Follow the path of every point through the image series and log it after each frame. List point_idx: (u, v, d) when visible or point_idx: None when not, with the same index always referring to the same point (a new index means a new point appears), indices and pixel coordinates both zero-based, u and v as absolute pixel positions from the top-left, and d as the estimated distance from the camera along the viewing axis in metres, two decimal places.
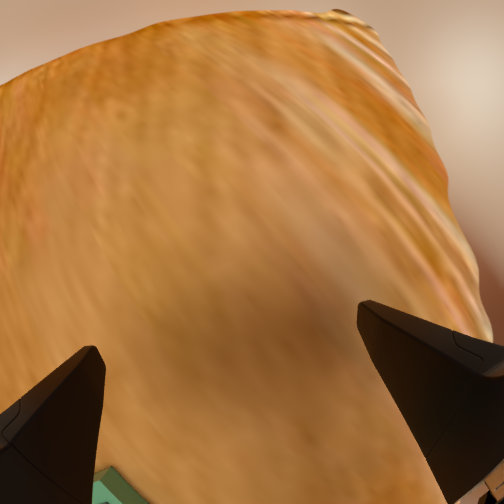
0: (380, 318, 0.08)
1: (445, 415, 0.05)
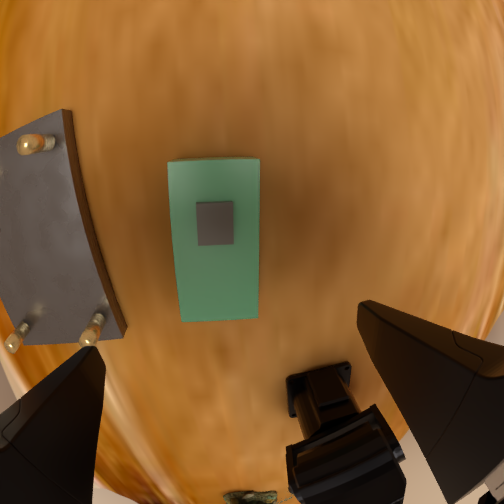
0: (380, 318, 0.08)
1: (445, 415, 0.05)
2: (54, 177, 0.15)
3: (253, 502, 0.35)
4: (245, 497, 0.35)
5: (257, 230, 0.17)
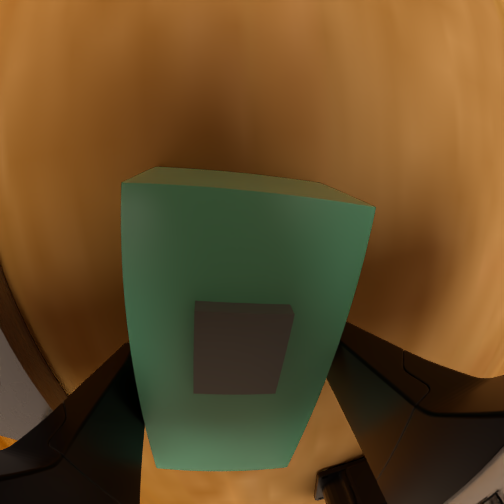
0: None
1: (390, 442, 0.05)
2: None
3: None
4: None
5: (328, 362, 0.07)
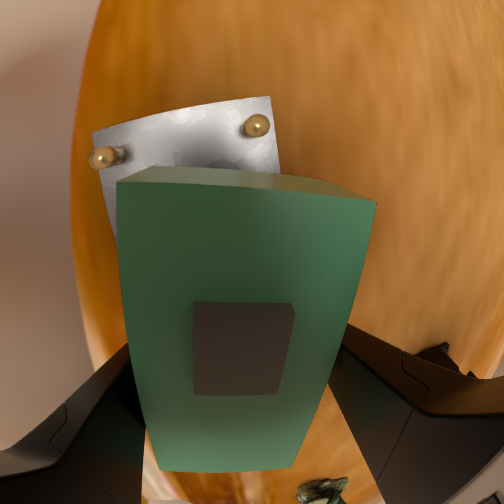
0: None
1: (388, 443, 0.05)
2: (257, 167, 0.17)
3: (328, 490, 0.35)
4: (321, 486, 0.35)
5: (331, 361, 0.07)
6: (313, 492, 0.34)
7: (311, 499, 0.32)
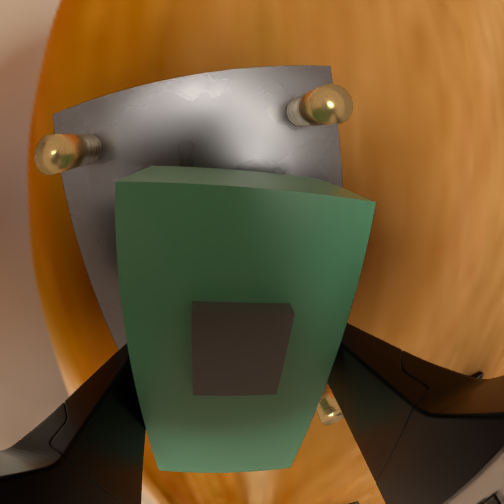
0: None
1: (388, 443, 0.05)
2: (310, 173, 0.11)
3: None
4: None
5: (330, 361, 0.07)
6: None
7: None
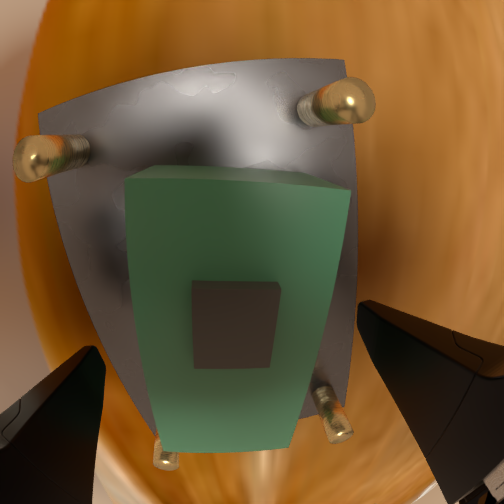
0: (380, 318, 0.08)
1: (445, 415, 0.05)
2: (322, 177, 0.10)
3: None
4: None
5: (318, 337, 0.08)
6: None
7: None
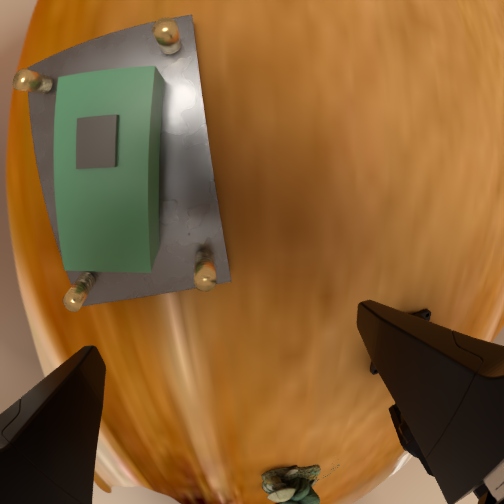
0: (380, 318, 0.08)
1: (445, 415, 0.05)
2: (175, 81, 0.14)
3: (296, 479, 0.33)
4: (288, 474, 0.33)
5: (146, 151, 0.12)
6: (278, 481, 0.31)
7: (275, 489, 0.30)
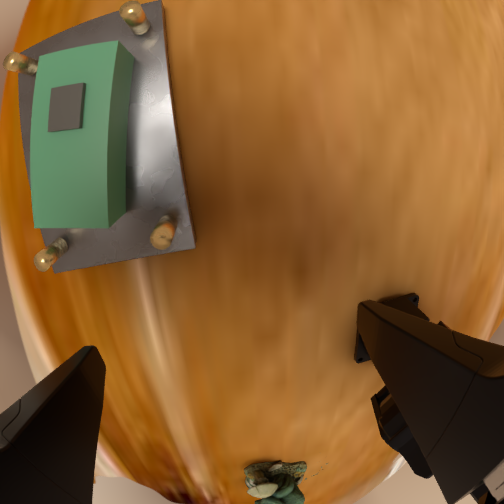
0: (380, 318, 0.08)
1: (445, 415, 0.05)
2: (144, 57, 0.14)
3: (280, 475, 0.32)
4: (272, 469, 0.32)
5: (107, 113, 0.12)
6: (260, 475, 0.30)
7: (256, 483, 0.29)
